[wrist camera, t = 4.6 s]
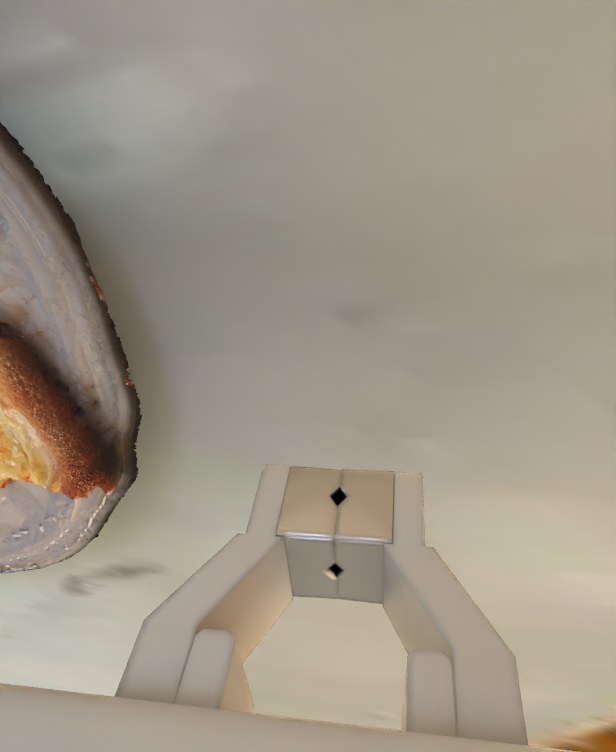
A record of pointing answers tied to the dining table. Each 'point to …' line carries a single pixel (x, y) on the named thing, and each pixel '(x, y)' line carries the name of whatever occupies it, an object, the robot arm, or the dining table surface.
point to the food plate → (55, 380)
